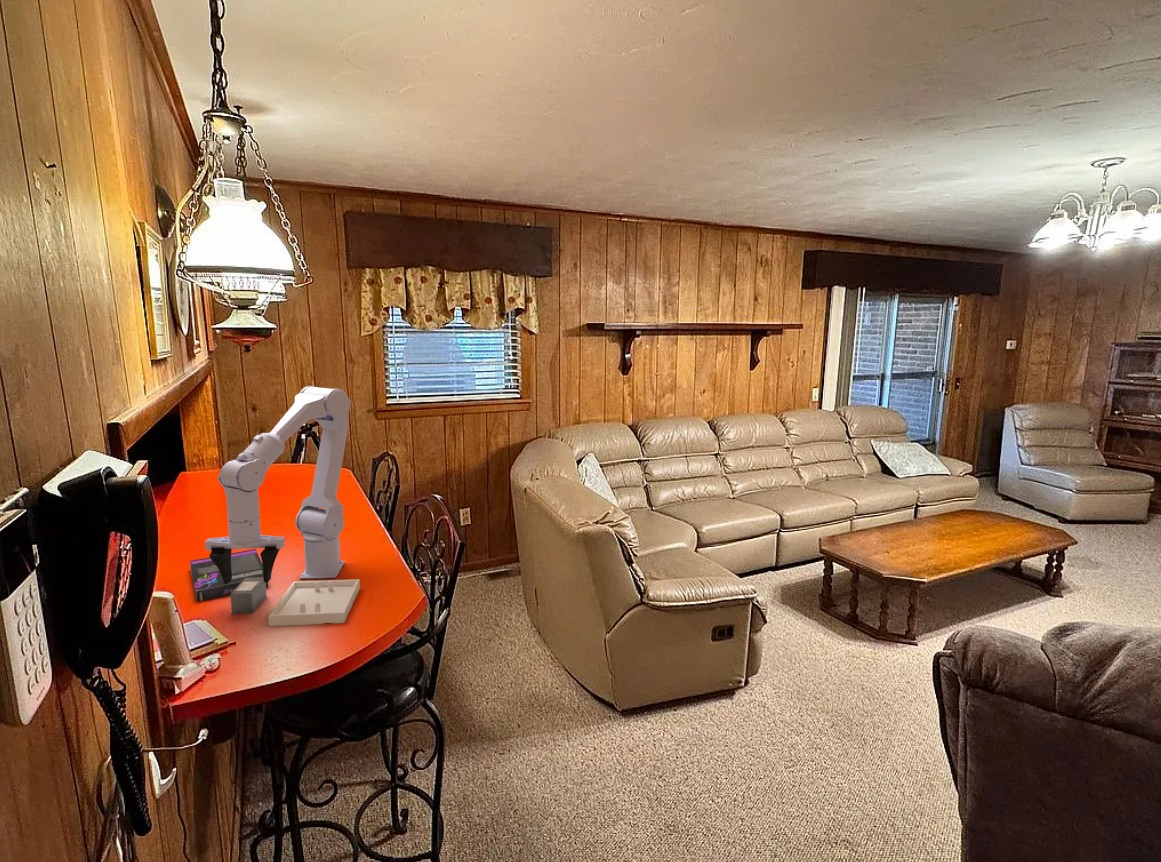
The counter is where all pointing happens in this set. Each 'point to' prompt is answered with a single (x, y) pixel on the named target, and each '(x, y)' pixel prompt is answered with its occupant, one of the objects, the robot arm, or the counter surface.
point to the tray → (315, 603)
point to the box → (210, 578)
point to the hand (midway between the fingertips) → (247, 581)
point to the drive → (248, 595)
